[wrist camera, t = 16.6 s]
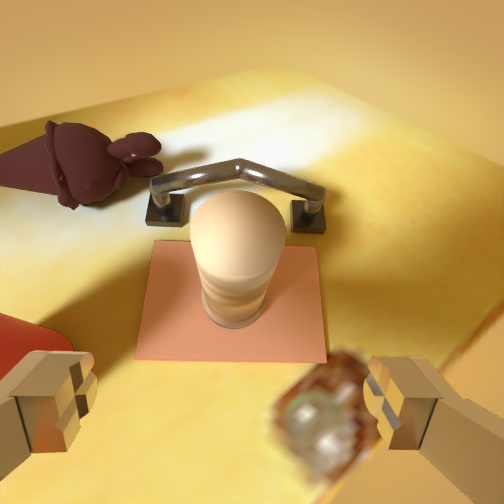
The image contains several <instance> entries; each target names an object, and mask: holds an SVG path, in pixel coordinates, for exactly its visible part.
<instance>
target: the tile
mask: <svg viewBox="0 0 504 504" xmlns="http://www.w3.org/2000/svg"><path fill="white" fill-rule="evenodd" d="M134 360H136V361H184V362H249V363H313V364H325V363H327V358H326V347H325V336H324V325H323V315H322V304H321V293H320V282H319V272H318V261H317V250H316V247H308V246H284V248H283V251H282V253H281V256H280V258H279V261H278V263H277V266H276V268H275V271H274V273H273V276H272V278H271V281H270V284H269V286H268V289H267V300H266V304H265V307H264V309H263V311H262V313H261V315H260V316H259V318H258V319H257V320H256V321H255V322H253V323H252V324H251V325H249V326H247V327H244V328H240V329H227V328H224V327H221V326H219V325H217V324H216V323H214V322H213V321H212V320H211V319H210V318H209V317H208V315H207V314H206V312H205V309H204V306H203V303H202V283H201V279H200V275H199V271H198V267H197V263H196V259H195V255H194V251H193V247H192V244H191V242H186V241H162V240H154V246H153V252H152V258H151V264H150V270H149V276H148V281H147V287H146V293H145V299H144V305H143V311H142V317H141V323H140V329H139V335H138V341H137V347H136V353H135V359H134Z"/></svg>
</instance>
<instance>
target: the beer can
mask: <svg viewBox="0 0 504 504" xmlns="http://www.w3.org/2000/svg"><path fill="white" fill-rule="evenodd" d="M35 350H37V351H73V352H75V350H74V349H73V347H72V345H71V343H70V341H69V340H68V339H67V338H65V337H64V336H63V335H62V334H60V333H59V332H57V331H54V330H51V329H47V328H44V327H41V326H38V325H35V324H32V323H29V322H26V321H23V320H20V319H17V318H14V317H11V316H8V315H5V314H2V313H0V381H1V380H2V379H3V378H4V377H5V376H6V375H7V374H8V373H9V372H10V371H11V370H12V369H13V368H14V367H15V366H16V365H17V364H18V363H19V362H20V361H21V360H22V359H23V358H24V357H25V356H26V355H27V354H28V353H29V352H32V351H35Z"/></svg>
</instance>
